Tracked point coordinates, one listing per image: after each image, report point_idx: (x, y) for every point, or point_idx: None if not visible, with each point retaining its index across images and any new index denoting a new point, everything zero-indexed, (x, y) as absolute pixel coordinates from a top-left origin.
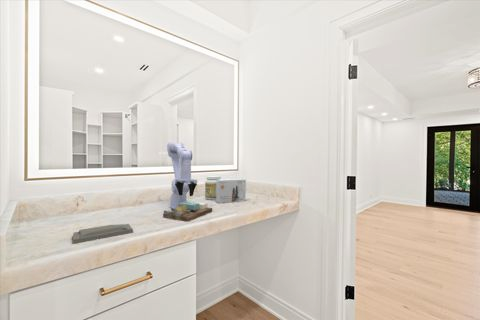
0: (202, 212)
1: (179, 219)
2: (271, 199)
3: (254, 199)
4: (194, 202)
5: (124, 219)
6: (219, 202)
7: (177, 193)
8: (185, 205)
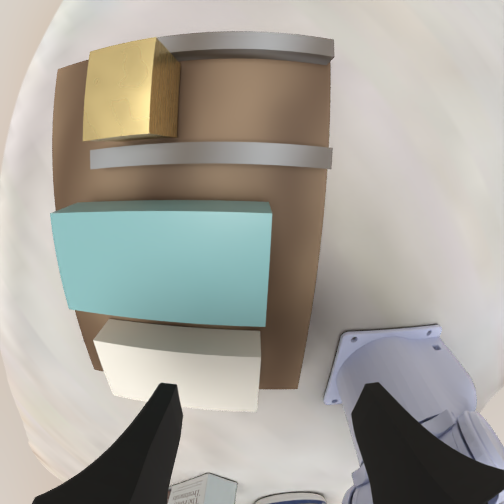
0: None
1: None
2: None
3: None
4: (224, 395)
5: (478, 7)
6: (204, 477)
7: (430, 423)
8: (89, 129)
